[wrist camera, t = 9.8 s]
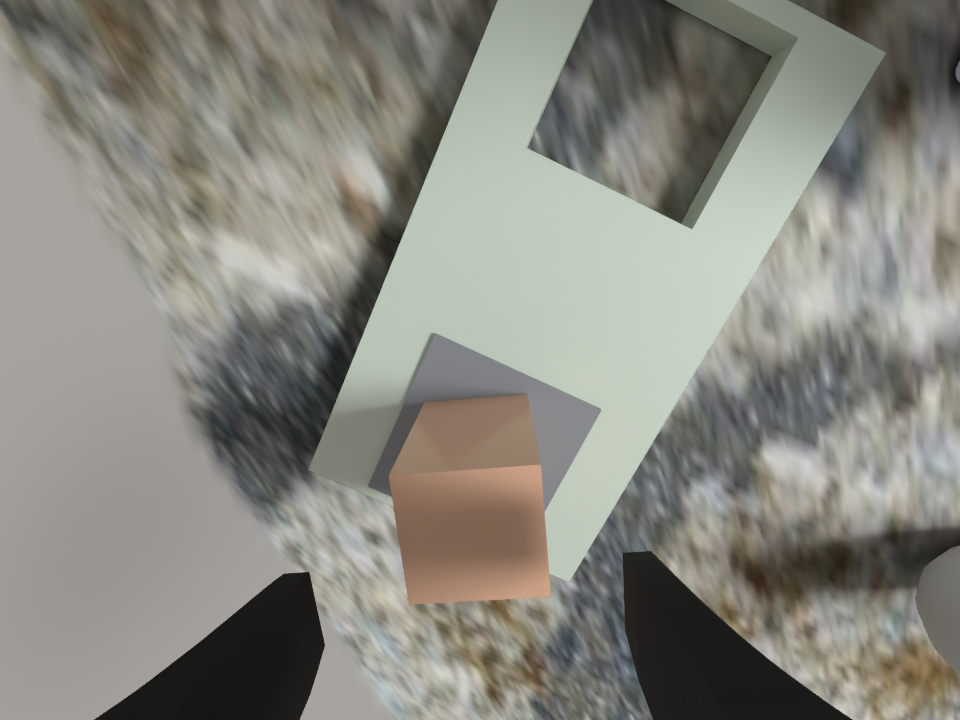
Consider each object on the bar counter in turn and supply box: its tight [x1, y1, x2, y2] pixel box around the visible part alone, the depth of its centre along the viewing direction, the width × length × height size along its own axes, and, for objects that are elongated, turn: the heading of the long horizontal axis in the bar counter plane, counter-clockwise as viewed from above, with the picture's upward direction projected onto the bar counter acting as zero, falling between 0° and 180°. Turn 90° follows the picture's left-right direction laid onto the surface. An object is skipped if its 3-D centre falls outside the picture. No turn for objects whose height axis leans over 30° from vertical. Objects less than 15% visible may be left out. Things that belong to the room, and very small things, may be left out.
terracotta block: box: [389, 394, 551, 605], centre depth 16 cm, size 4×4×6 cm
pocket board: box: [309, 0, 886, 582], centre depth 18 cm, size 12×22×2 cm, turn 155°
